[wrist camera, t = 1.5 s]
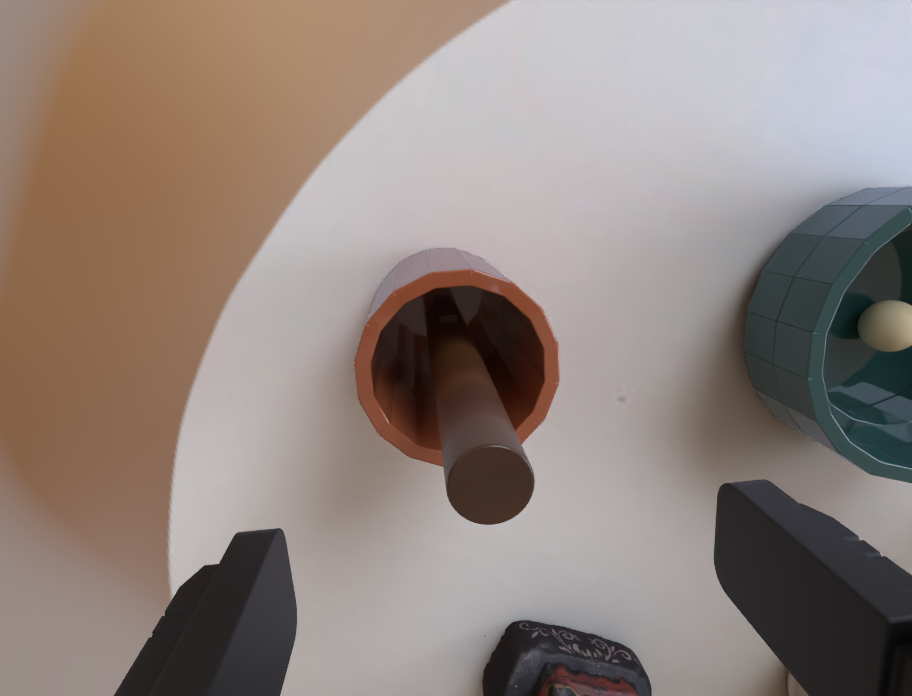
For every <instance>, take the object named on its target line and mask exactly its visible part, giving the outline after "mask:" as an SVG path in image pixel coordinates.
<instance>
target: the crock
mask: <svg viewBox="0 0 912 696" xmlns="http://www.w3.org/2000/svg"><path fill="white" fill-rule="evenodd" d="M443 296H450V298H451V301H452V303H453V305H455V306H456V307H457V308H458V309H459V310H460V312H461V314H462V316H463V318H464V320H465V323H466V325H467V327H468V329H469V331H470V333H471V336H472V338H473V340H474V342H475V344H476V347H477V349H478V351H479V353H480V355H481V358H482V360H483V362H484V364H485V366H486V368H487V371H488V373H489V375H490V377H491V379H492V382H493V384H494V386H495V388H496V390H497V393H498V395H499V397H500V399H501V401H502V403H503V406H504V408H505V410H506V412H507V414H508V417H509V419H510V421H511V423H512V425H513V428H514V430H515V432H516V434H517V436H518V438H519V441H520V443H521V444H522V443H523V442H524V441H525V440H526V439H527V438H528V437H529V436H530V435H531V433H532V432H533V431H534V430H535V429H536V428H537V427H538V426H539V425H540V424H541V423H542V422H543V421H544V420H545V417H546V416H547V413H548V410H549V408H550V405H551V403H552V400H553V398H554V395H555V393H556V390H557V388H558V385H559V345H558V341H557V339H556V337H555V335H554V333H553V331H552V328H551V326H550V324H549V322H548V320H547V317H546V315H545V313H544V311H543V310H542V308H541V307H540V306H539V305H538V304H537V303H536V302H534V301H533V300H532V299H531V298H530V297H529V296H528V295H527V294H525V293H524V292H523V291H522V290H521V289H520V288H519V287H518V286H516V285H515V284H514V283H513V282H512V281H510V280H509V279H508V278H507V277H505V276H504V275H503V274H502V273H500V272H499V271H498V270H496V269H495V268H494V267H493V266H491V265H490V264H489V263H487V262H486V261H485V260H484V259H482V258H480V257H479V256H476V255H473V254H471V253H468V252H466V251H462V250H458V249H455V248H436V249H429V250H425V251H421V252H419V253H416V254H414V255H412V256H410V257H408V258H407V259H405V260H403V261H402V262H400V263H399V264H397V265H396V267H395V268H394V269H393V270H392V271H391V272H390V273H389V274H388V276H387V277H386V278H385V280H384V281H383V282H382V283H381V284H380V287H379V289H378V291H377V294H376V297H375V300H374V302H373V305H372V308H371V310H370V313H369V316H368V318H367V321H366V324H365V327H364V330H363V333H362V337H361V340H360V343H359V347H358V350H357V353H356V356H355V360H354V361H355V363H354V367H355V375H356V384H357V392H358V399H359V400H360V401H359V402H360V404H361V406H362V407H363V409H364V411H365V413H366V414H367V416H368V418H369V419H370V421H371V423H372V424H373V426H374V428H375V430H376V431H377V433H379V435H380V436H381V437H383V438H384V439H385V440H387V441H388V442H389V443H391V444H392V445H393V446H395V447H396V448H397V449H399V450H400V451H401V452H403V453H404V454H405V455H407V456H408V457H410V458H414V459H417V460H421V461H425V462H428V463H432V464H436V465H439V466H443V459H442V451H441V443H440V435H439V427H438V419H437V411H436V403H435V395H434V387H433V379H432V371H431V363H430V355H429V346H428V338H427V330H426V322H425V319H426V315H427V312H428V311H429V309H430V308H431V307H432V306H434V305H435V297H443Z"/></svg>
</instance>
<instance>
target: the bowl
mask: <svg viewBox="0 0 912 696" xmlns="http://www.w3.org/2000/svg"><path fill="white" fill-rule="evenodd" d="M886 300H896V301H901V302H905V303H907V304H909V305H911V306H912V185H905V186H891V187H877V188H867V189H863V190H861V191H858V192H856V193H854V194H851V195H849V196H846V197H844V198H841V199H839V200H836V201H834V202H832V203H829V204H827V205H825V206H824V207H822V208H821V209H820V210H819V211H817V212H816V213H815V214H813V215H812V216H811V217H810V218H808V219H807V220H806V221H805V222H803V223H802V224H801V225H800V226H798V227H797V228H796V229H795V230H793V231H792V232H791V233H790V234H789V235H788V236H787V237H786V239H785V240H784V241H783V243H782V244H781V245H780V247H779V248H778V249H777V251H776V252H775V254H774V255H773V256H772V258H771V259H770V260H769V262H768V263H767V264H766V266H765V267H764V269H763V270H762V272H761V274H760V277H759V280H758V282H757V285H756V288H755V290H754V293H753V295H752V298H751V301H750V303H749V306H748V309H747V315H746V330H745V344H744V354H745V358H746V362H747V366H748V370H749V373H750V377H751V381H752V385H753V387H754V389H755V390H756V392H757V393H758V395H759V396H760V397H761V399H762V400H763V402H764V403H765V404H766V406H767V407H768V409H769V410H770V411H771V413H772V414H773V415H774V416H775V417H776V418H778V419H779V420H781V421H782V422H784V423H786V424H787V425H789V426H790V427H792V428H793V429H795V430H796V431H798V432H799V433H801V434H803V435H804V436H806V437H808V438H809V439H811V440H813V441H815V442H816V443H818V444H820V445H821V446H823V447H825V448H826V449H828V450H830V451H832V452H833V453H835V454H836V455H838V456H840V457H841V458H843V459H845V460H847V461H848V462H850V463H852V464H853V465H855V466H857V467H858V468H860V469H862V470H863V471H865V472H867V473H869V474H871V475H875V476H880V477H884V478H889V479H894V480H898V481H903V482H908V483H912V345H911V346H910V347H908V348H906V349H903V350H900V351H895V352H885V351H879V350H876V349H874V348H871V347H870V346H868V345H867V344H866V343H865V342H864V341H863V340H862V339H861V337H860V336H859V333H858V327H857V326H858V320H859V318H860V316H861V314H862V313H863V312H864V311H865V310H866V309H867V308H868V307H869V306H871V305H873V304H875V303H877V302H881V301H886Z"/></svg>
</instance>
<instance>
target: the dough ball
mask: <svg viewBox="0 0 912 696" xmlns="http://www.w3.org/2000/svg"><path fill="white" fill-rule="evenodd" d="M857 327H858V333H859V336H860V337H861V339H862V340H863V341H864V342H865V343H866V344H867V345H868V346H870V347H871V348H874V349H876V350H879V351H885V352H895V351H900V350H903V349H906V348H908V347H910V346H911V345H912V306H911V305H909V304H907V303H905V302H901V301H896V300H886V301H881V302H877V303H875V304H873V305H871V306H869V307H868V308H867V309H866V310H865V311H864V312H863V313H862V314H861V316H860V318H859V320H858V326H857Z"/></svg>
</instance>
